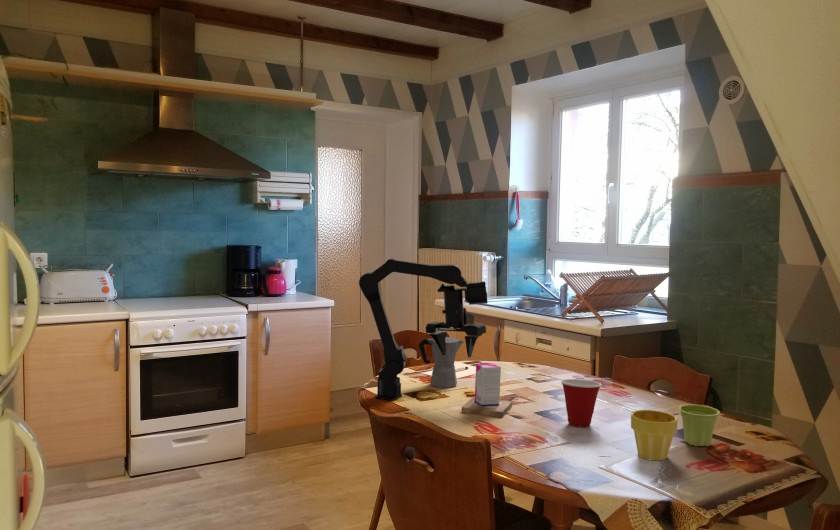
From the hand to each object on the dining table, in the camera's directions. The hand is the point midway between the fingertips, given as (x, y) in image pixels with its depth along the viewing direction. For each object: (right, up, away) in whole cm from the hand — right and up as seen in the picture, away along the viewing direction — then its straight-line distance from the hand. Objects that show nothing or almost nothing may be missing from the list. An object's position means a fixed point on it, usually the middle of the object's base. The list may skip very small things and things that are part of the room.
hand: (456, 356), depth 204 cm
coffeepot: (-4, -12, +19) cm, 23 cm away
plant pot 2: (+59, -17, -35) cm, 71 cm away
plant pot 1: (+44, -18, -45) cm, 66 cm away
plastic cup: (+32, -16, -22) cm, 42 cm away
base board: (+8, -14, -9) cm, 19 cm away
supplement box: (+8, -13, -9) cm, 18 cm away
